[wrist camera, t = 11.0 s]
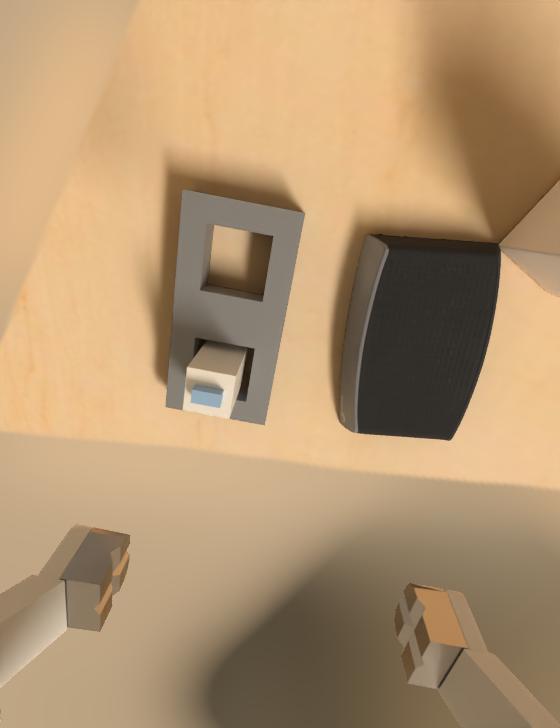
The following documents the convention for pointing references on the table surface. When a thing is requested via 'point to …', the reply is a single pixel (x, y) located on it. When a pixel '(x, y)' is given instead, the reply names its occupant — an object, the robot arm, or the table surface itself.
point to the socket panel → (230, 296)
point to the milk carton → (538, 242)
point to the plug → (214, 379)
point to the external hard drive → (416, 334)
